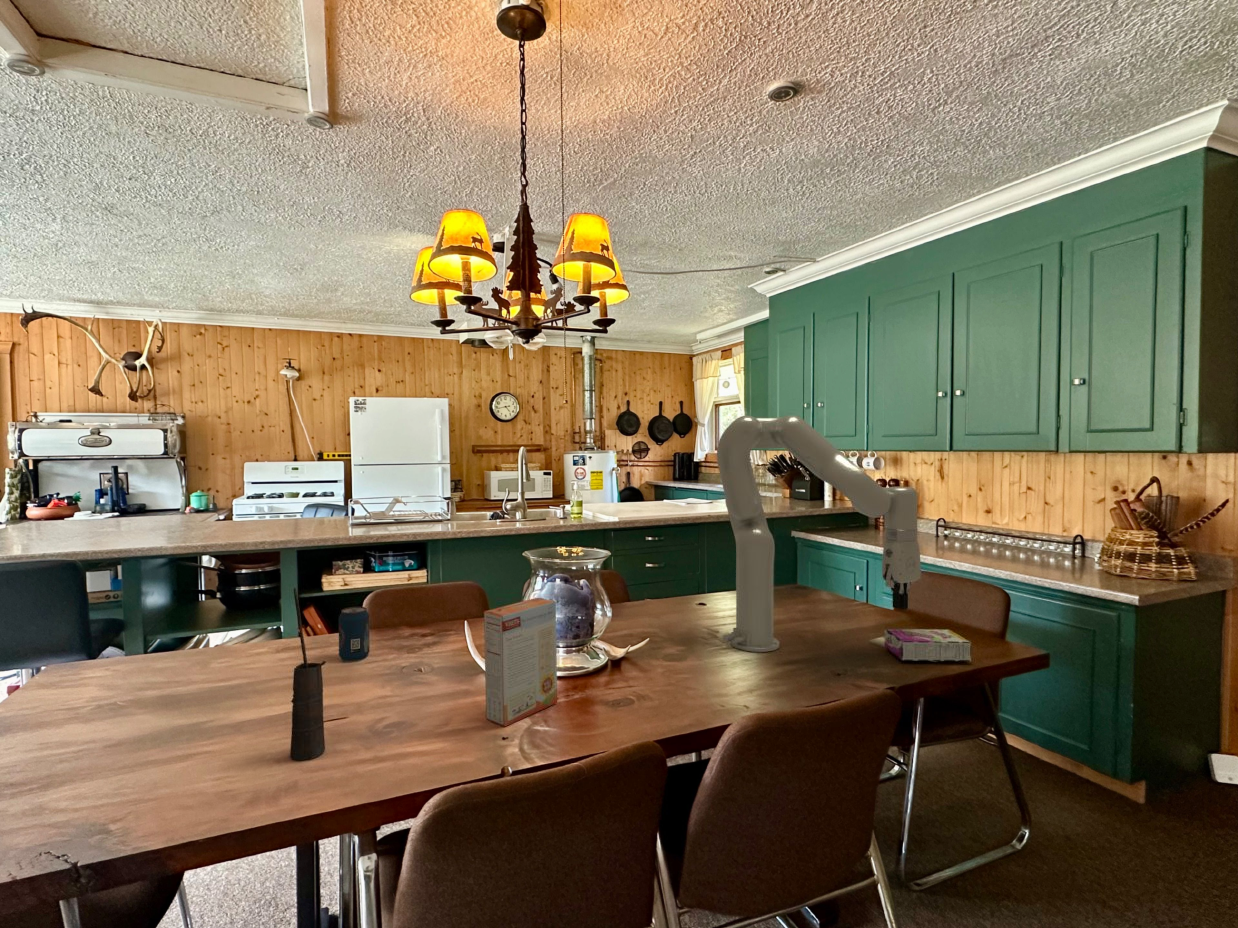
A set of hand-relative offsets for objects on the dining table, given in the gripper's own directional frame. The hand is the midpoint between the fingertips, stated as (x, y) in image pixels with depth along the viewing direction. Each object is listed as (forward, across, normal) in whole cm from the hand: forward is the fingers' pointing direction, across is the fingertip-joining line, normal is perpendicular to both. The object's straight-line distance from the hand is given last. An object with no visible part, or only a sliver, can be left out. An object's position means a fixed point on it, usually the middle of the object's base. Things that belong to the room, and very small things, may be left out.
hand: (900, 608), depth 155 cm
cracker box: (+11, -95, +19) cm, 97 cm away
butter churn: (+11, -131, +23) cm, 133 cm away
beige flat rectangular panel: (+11, +7, 0) cm, 13 cm away
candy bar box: (+8, -4, -1) cm, 9 cm away
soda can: (+11, -117, +70) cm, 137 cm away
